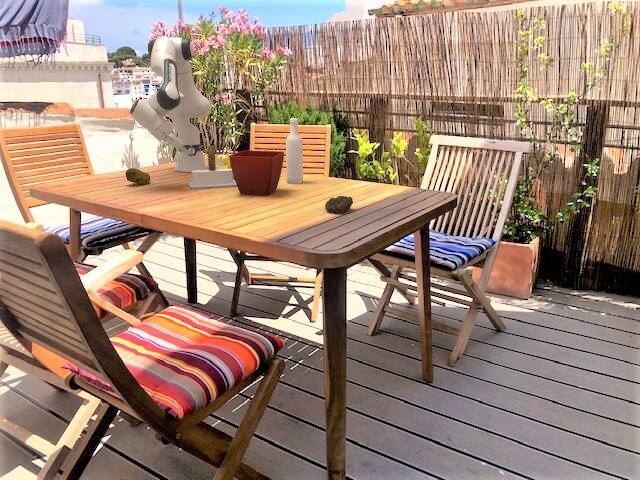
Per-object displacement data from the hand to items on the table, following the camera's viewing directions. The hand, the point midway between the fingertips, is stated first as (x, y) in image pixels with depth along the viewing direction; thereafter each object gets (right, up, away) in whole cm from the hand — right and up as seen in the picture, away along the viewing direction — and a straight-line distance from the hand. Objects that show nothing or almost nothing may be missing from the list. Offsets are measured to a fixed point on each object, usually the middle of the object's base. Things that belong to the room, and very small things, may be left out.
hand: (187, 153), depth 236 cm
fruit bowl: (+17, -7, +33) cm, 37 cm away
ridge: (+10, -14, +8) cm, 19 cm away
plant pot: (+33, -19, -8) cm, 38 cm away
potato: (-25, -13, +10) cm, 30 cm away
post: (+10, -7, +6) cm, 13 cm away
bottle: (+47, -12, +16) cm, 51 cm away
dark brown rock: (+66, -28, -41) cm, 82 cm away
